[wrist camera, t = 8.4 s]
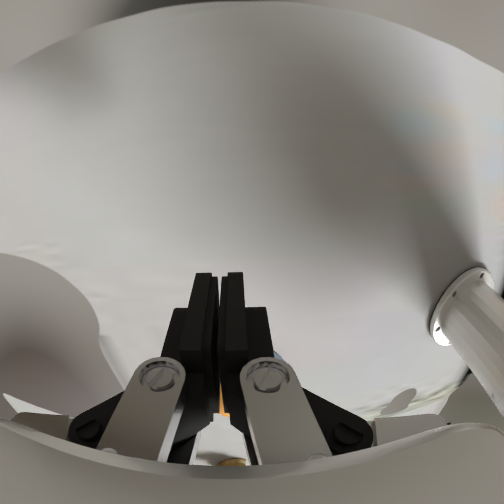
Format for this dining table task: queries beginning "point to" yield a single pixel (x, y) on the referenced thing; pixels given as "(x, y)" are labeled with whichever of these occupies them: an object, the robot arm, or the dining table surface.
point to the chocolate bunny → (233, 462)
